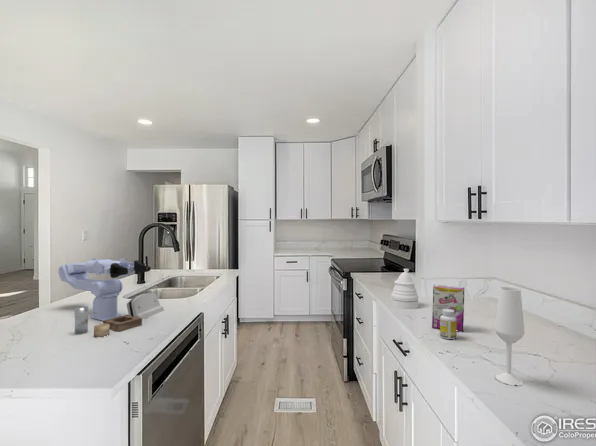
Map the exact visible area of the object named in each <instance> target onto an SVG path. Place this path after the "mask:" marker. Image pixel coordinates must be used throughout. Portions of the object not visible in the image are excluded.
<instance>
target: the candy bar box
mask: <svg viewBox="0 0 596 446" xmlns="http://www.w3.org/2000/svg"><path fill="white" fill-rule="evenodd" d="M443 309H451V310H454V317H455V318H456V330H458V331H457V332H459V331H463V332H464V324H465V323H464V322H465V321H464V320H465V319H464V317H465V313H464V312H465V287H462V286H452V285H445V284H444V285H442V284H434V285H433V288H432V317H431V318H432V320H431V322H432V323H431V327H432V329H439V330H440V316H442V315H443V314H442V310H443Z"/></svg>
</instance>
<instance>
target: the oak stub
mask: <svg viewBox="0 0 596 446" xmlns="http://www.w3.org/2000/svg"><path fill="white" fill-rule="evenodd" d="M110 331H111V330H110V324H103V323H99V324H98V323H97V324H96V325H93V338H96V337H101V338H104V336H106V337H108V336H110ZM107 335H108V336H107Z"/></svg>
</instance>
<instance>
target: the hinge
mask: <svg viewBox="0 0 596 446" xmlns="http://www.w3.org/2000/svg"><path fill="white" fill-rule="evenodd" d="M126 308H127V313H128V314H127V315H129V316H134V317H138V318H142V321H143V320H145V319H147V318H149V317H152V316H154V315H157V314H159V313H161V312H164V311H165V309H164V307H163V305H161V303H160V300H159V299H158V295H157V294H156V293H152V292H151V293H150V292H148V293H141V294H139V295H135V297H133V298H131V299H130V300H129V301H128V302H127V303H126Z"/></svg>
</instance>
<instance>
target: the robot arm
mask: <svg viewBox="0 0 596 446" xmlns="http://www.w3.org/2000/svg"><path fill="white" fill-rule="evenodd" d="M126 260H127V259H126V258H124V257H123V258H120V259H119V260H113V259H111V258H108V259H103V258H98V259H97V258H90V260H88V261H86V262H84V261H83V262H82V261H81V262H73V263H68V264H67V263H66V264H61V265H60V266H59V268H58V276H59V278H60V280H61V282H65V283H67V284H68V285H69V286H70V287H71V288H73V289H75V290H79V291H80V290H81V291H86V292H87V291H88V292H90V294H92V295H94V296H95V297H94V299H93V301H92V316H90V319H95V320H99V321H102V322H103V321H104V320H108V319H112V318H116V317H120V316H123V315H122V314H118V296H120V294H121V292H122V291H123V286H124V285H123V281H122V280H121V279H120V278H119V277H125V276H128V275H129V274H131V273H134V275H140V274H141V273H145V272H147V266H146V265H145V264H143V263H142V261H141V260H137V259H136V260H133V262H130V261H126ZM89 274H96V276H97V275H102V274H104V275H109V276H110V278H112V279H107V280H103V279H94V278H93V279H92V278H89Z"/></svg>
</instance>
